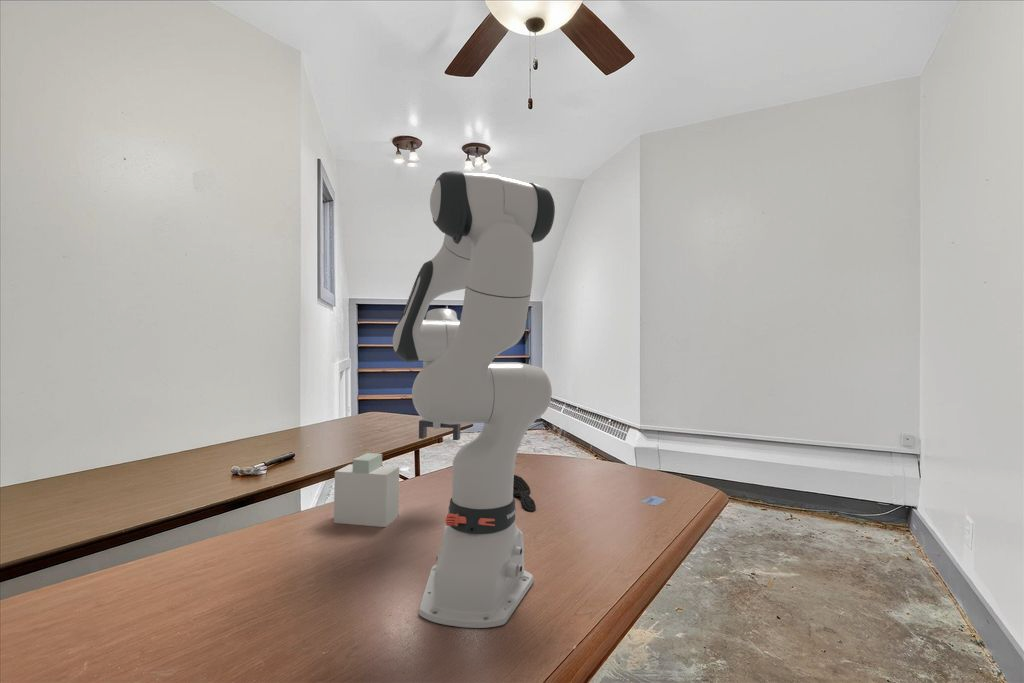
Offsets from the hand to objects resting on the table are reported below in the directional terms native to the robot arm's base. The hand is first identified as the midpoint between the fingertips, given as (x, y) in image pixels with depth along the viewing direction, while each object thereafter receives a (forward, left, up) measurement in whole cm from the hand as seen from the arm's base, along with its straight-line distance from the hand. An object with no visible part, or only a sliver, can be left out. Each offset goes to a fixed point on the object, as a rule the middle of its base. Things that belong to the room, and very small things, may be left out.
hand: (439, 426), depth 120 cm
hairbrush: (+15, -19, -22) cm, 32 cm away
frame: (0, 0, -3) cm, 3 cm away
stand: (-10, +15, -21) cm, 27 cm away
